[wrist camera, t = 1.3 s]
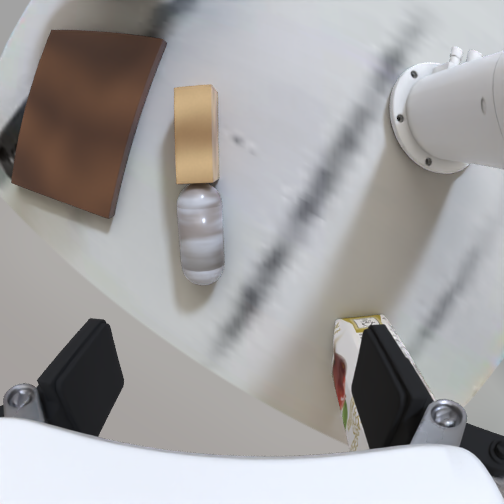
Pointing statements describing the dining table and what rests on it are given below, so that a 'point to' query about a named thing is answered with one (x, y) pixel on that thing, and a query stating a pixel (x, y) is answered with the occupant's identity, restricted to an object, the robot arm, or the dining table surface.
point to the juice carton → (344, 368)
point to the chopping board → (84, 116)
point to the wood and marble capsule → (198, 183)
